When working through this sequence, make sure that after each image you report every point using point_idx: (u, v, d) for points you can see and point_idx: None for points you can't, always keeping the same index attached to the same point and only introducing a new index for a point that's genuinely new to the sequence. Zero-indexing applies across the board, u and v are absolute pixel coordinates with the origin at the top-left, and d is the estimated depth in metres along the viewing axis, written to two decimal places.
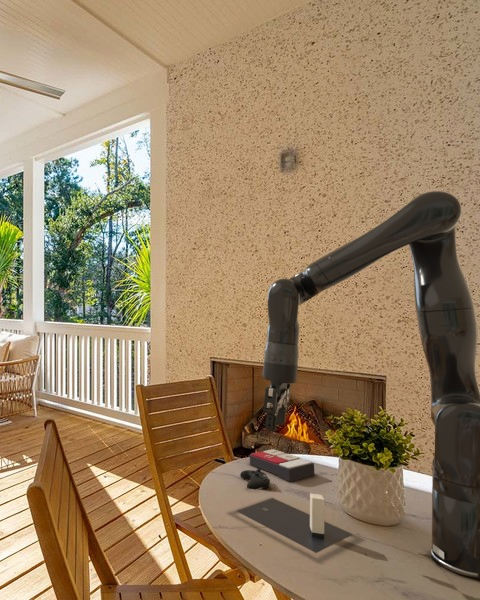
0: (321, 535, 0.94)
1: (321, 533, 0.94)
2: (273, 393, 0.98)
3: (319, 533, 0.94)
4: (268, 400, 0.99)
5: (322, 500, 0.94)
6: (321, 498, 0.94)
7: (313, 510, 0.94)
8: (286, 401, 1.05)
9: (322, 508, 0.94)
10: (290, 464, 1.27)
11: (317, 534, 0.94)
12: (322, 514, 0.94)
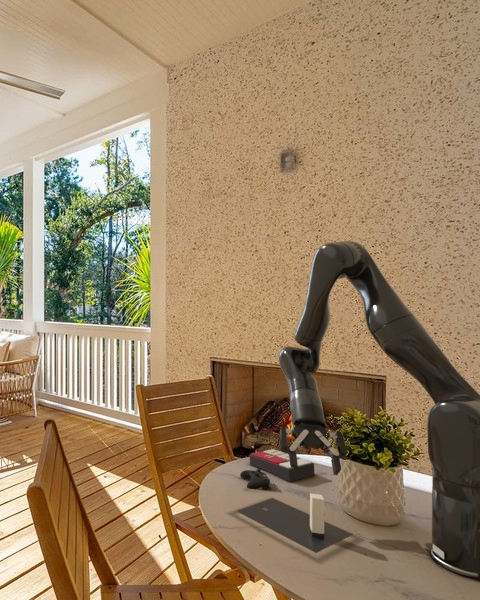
0: (321, 535, 0.94)
1: (321, 533, 0.94)
2: (280, 430, 1.09)
3: (319, 533, 0.94)
4: (280, 439, 1.08)
5: (322, 500, 0.94)
6: (321, 498, 0.94)
7: (313, 510, 0.94)
8: (325, 444, 1.03)
9: (322, 508, 0.94)
10: None
11: (317, 534, 0.94)
12: (322, 514, 0.94)
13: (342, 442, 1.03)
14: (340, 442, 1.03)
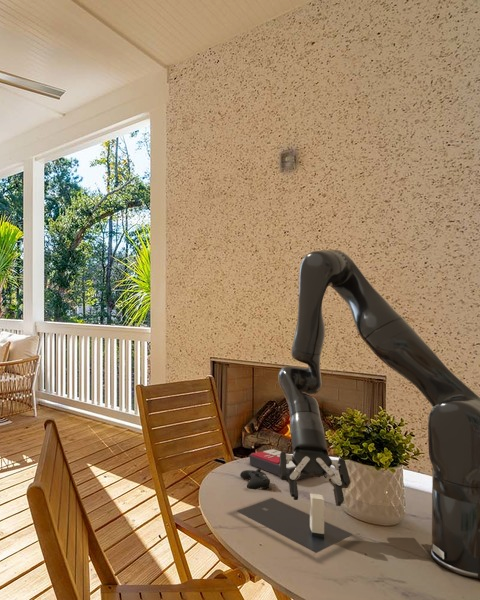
0: (321, 535, 0.94)
1: (321, 533, 0.94)
2: (280, 457, 1.04)
3: (319, 533, 0.94)
4: (280, 465, 1.03)
5: (322, 500, 0.94)
6: (321, 498, 0.94)
7: (313, 510, 0.94)
8: (327, 472, 0.98)
9: (322, 508, 0.94)
10: (290, 464, 1.27)
11: (317, 534, 0.94)
12: (322, 514, 0.94)
13: (345, 470, 0.98)
14: (343, 470, 0.98)
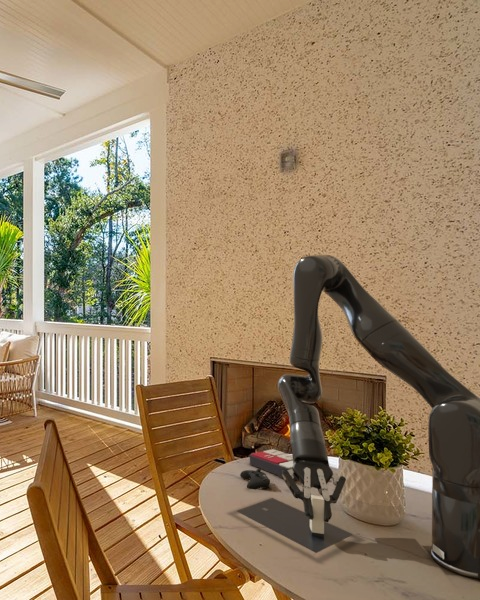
0: (321, 535, 0.94)
1: (321, 533, 0.94)
2: (284, 476, 1.00)
3: (319, 533, 0.94)
4: (288, 485, 0.99)
5: (322, 500, 0.93)
6: (321, 498, 0.94)
7: (313, 510, 0.94)
8: (320, 485, 0.96)
9: (322, 508, 0.94)
10: (290, 464, 1.27)
11: (317, 534, 0.94)
12: (322, 514, 0.94)
13: (339, 487, 0.95)
14: (337, 486, 0.96)
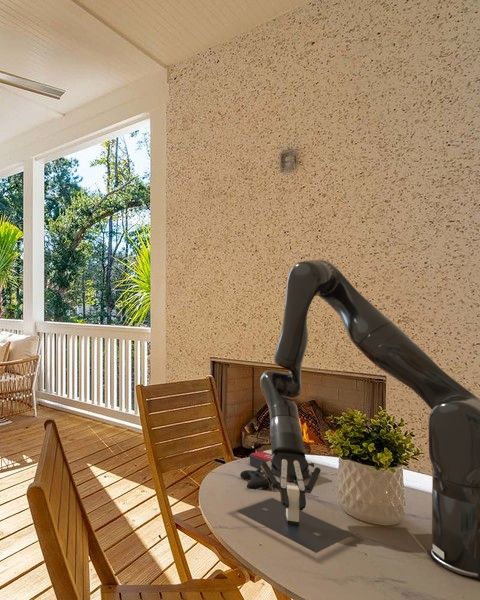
0: (296, 523, 0.99)
1: (296, 521, 0.99)
2: (262, 467, 1.05)
3: (294, 521, 0.99)
4: (266, 475, 1.04)
5: (297, 490, 0.98)
6: (296, 488, 0.99)
7: (289, 500, 0.99)
8: (296, 475, 1.01)
9: (297, 498, 0.98)
10: None
11: (292, 522, 0.99)
12: (297, 503, 0.98)
13: (314, 478, 1.00)
14: (312, 477, 1.01)
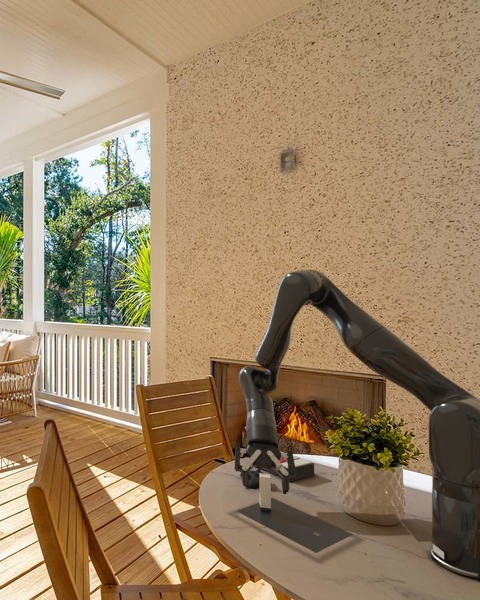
0: (268, 509, 1.05)
1: (268, 508, 1.05)
2: (235, 450, 1.13)
3: (266, 507, 1.05)
4: None
5: (269, 478, 1.05)
6: (268, 476, 1.05)
7: (261, 487, 1.05)
8: (276, 464, 1.07)
9: (269, 485, 1.05)
10: None
11: (265, 509, 1.05)
12: (269, 491, 1.05)
13: (292, 462, 1.07)
14: (290, 462, 1.07)
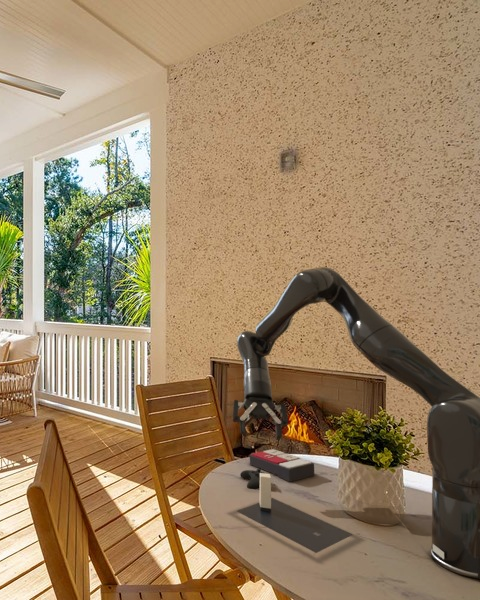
0: (268, 509, 1.05)
1: (268, 508, 1.05)
2: None
3: (266, 507, 1.05)
4: None
5: (269, 478, 1.05)
6: (268, 476, 1.05)
7: (261, 487, 1.05)
8: (270, 414, 1.19)
9: (269, 485, 1.05)
10: (290, 464, 1.27)
11: (265, 508, 1.05)
12: (269, 491, 1.05)
13: (284, 412, 1.19)
14: (283, 412, 1.19)
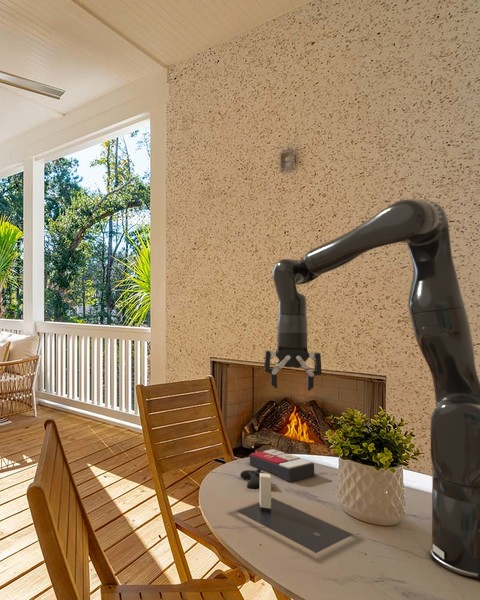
0: (268, 509, 1.05)
1: (268, 508, 1.05)
2: (265, 354, 1.21)
3: (266, 507, 1.05)
4: None
5: (269, 478, 1.05)
6: (268, 476, 1.05)
7: (261, 487, 1.05)
8: (303, 367, 1.17)
9: (269, 485, 1.05)
10: (290, 464, 1.27)
11: (265, 508, 1.05)
12: (269, 491, 1.05)
13: (319, 364, 1.16)
14: (317, 364, 1.17)
